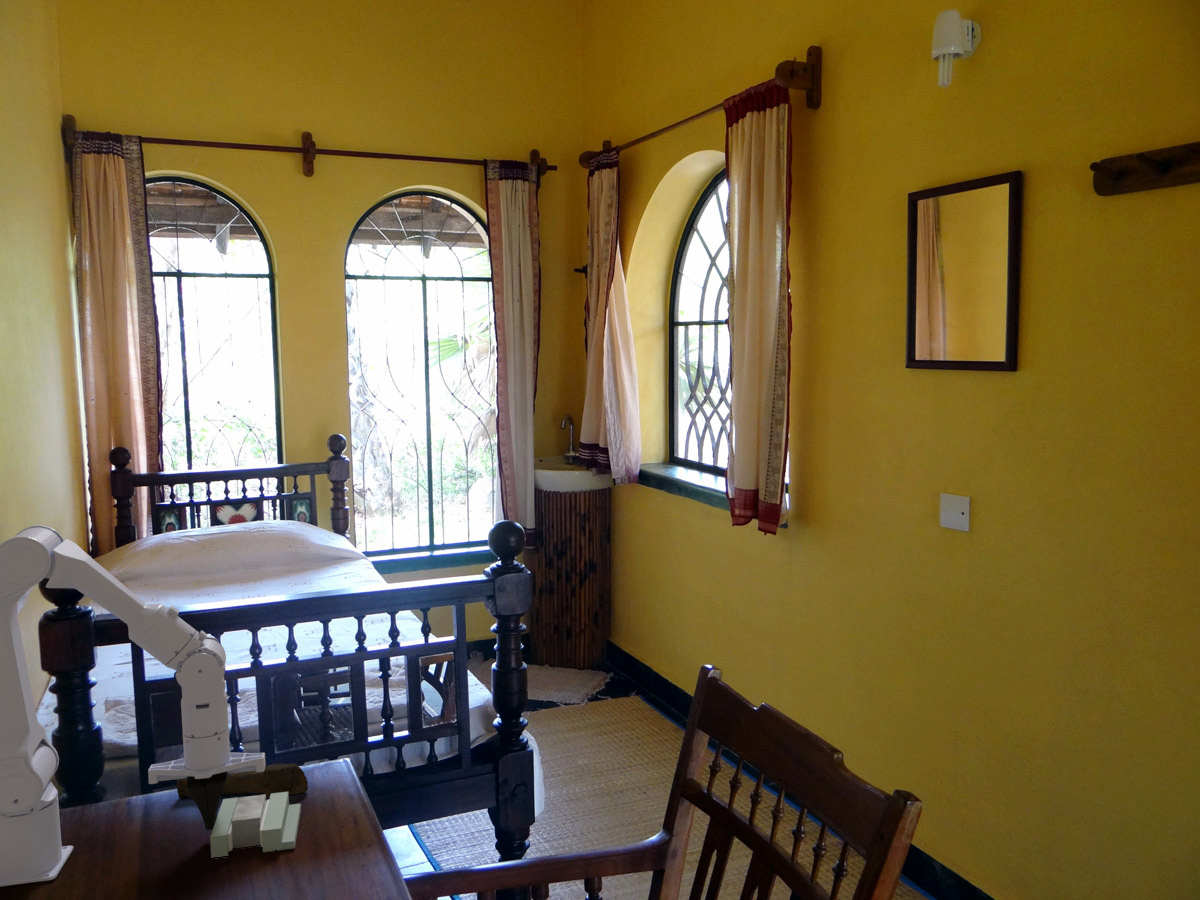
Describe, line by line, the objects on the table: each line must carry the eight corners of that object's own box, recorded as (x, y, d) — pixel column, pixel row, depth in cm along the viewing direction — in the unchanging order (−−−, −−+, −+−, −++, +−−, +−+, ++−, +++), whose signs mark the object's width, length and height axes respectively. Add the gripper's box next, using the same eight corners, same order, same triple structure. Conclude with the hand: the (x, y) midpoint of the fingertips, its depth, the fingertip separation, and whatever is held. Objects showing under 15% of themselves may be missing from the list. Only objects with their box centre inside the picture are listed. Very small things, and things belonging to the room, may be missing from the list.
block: (233, 849, 125) (231, 821, 125) (240, 824, 132) (238, 797, 132) (261, 846, 126) (260, 817, 126) (267, 821, 133) (265, 794, 132)
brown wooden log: (174, 803, 139) (173, 773, 139) (187, 790, 143) (185, 761, 143) (301, 803, 139) (300, 772, 138) (310, 790, 143) (309, 761, 142)
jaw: (211, 858, 123) (210, 837, 123) (224, 819, 133) (223, 799, 133) (230, 856, 123) (229, 834, 123) (242, 817, 134) (241, 797, 134)
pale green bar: (259, 852, 124) (258, 831, 124) (268, 813, 135) (267, 794, 135) (294, 848, 125) (293, 826, 125) (300, 810, 136) (299, 790, 136)
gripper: (140, 747, 121) (146, 848, 122) (259, 735, 124) (264, 833, 126) (152, 726, 128) (158, 822, 129) (265, 716, 131) (269, 809, 132)
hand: (211, 826), depth 128 cm, fingers closed
